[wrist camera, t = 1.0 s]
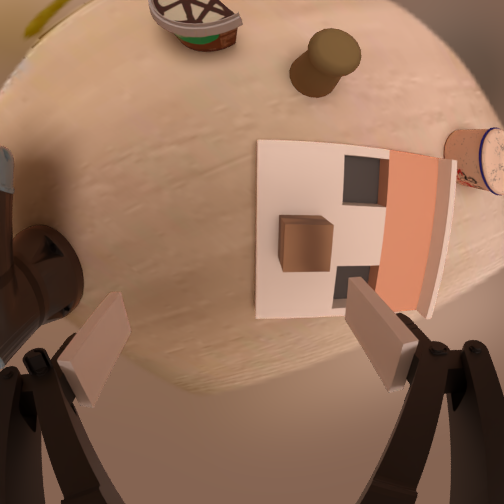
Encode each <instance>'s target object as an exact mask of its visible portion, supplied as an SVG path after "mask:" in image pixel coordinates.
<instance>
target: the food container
mask: <svg viewBox="0 0 504 504" xmlns="http://www.w3.org/2000/svg"><path fill="white" fill-rule="evenodd" d="M148 2H149V8H150V12H151V15H152V17H153V19H154V20H155V21H156V22H157V24H158V25H160V26H161V27H162V28H164V29H166V30H168V31H169V32H172V33H174V34H175V35H176V36H177V38H178V39H179V40H180V41H181V42H182V43H183V44H184V45H185V46H187V47H188V48H190V49H193V50H196V51H203V52H211V51H218V50H221V49H225V48H227V47H229V46H231V45H233V44H235V43H236V35H237V28H238V27H239V26H241V25H243V24H242V20H241V17H240V16H239V12H238V13H236V14H234V13H233V12H232V11H231V10H229V9H228V8H227V7H226V6H225V5H224V4H223V3H221V2H220V1H219V0H148Z"/></svg>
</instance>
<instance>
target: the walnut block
mask: <svg viewBox="0 0 504 504" xmlns="http://www.w3.org/2000/svg"><path fill="white" fill-rule="evenodd" d="M333 231H334V225H333V224H332V223H331V222H329V221H328V220H327V219H325V218H324V217H323V216H321V215H279V232H278V259H279V262H280V265H281V268H282V271H283V272H330V264H331V254H332V243H333Z"/></svg>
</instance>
